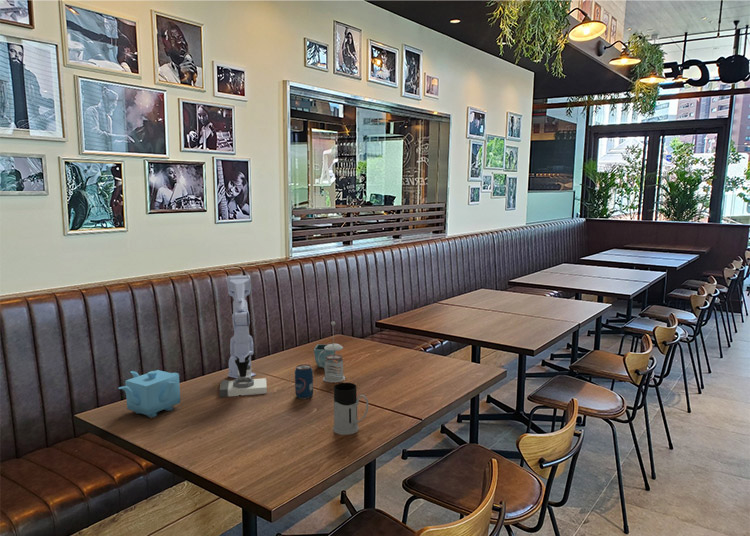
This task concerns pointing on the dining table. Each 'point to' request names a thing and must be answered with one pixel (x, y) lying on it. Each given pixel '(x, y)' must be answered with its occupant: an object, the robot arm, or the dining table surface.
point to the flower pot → (322, 354)
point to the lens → (248, 374)
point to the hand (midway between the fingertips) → (243, 374)
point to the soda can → (303, 381)
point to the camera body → (243, 387)
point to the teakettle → (152, 392)
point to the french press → (333, 363)
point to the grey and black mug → (346, 408)
